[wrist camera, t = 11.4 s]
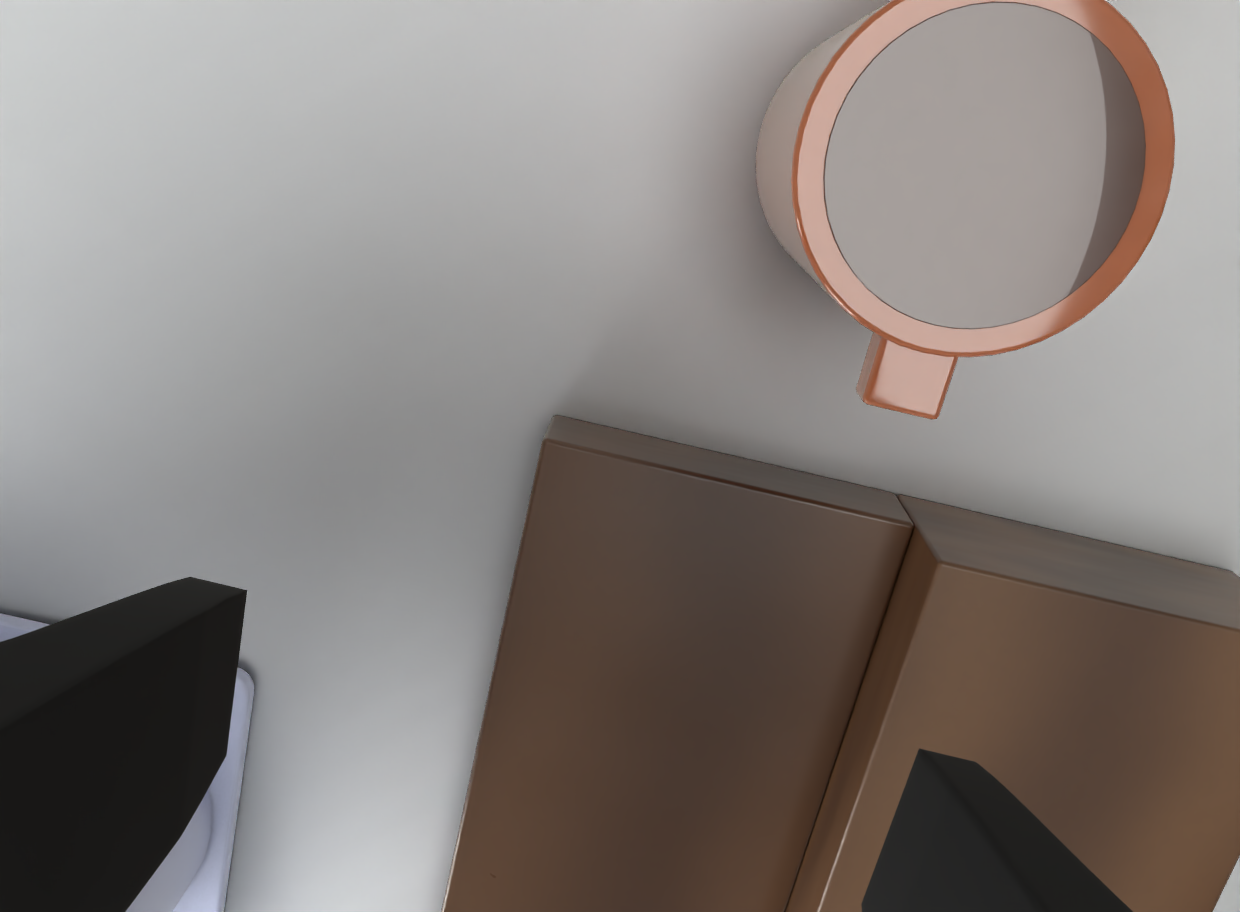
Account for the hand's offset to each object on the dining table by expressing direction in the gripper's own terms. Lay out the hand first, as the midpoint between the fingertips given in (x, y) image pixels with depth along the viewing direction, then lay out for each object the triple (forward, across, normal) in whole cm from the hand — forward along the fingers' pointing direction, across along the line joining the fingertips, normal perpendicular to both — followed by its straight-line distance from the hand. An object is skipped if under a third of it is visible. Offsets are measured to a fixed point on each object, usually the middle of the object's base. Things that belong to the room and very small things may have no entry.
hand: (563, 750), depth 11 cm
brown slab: (+10, -5, +8) cm, 14 cm away
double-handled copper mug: (+11, -3, -6) cm, 13 cm away
